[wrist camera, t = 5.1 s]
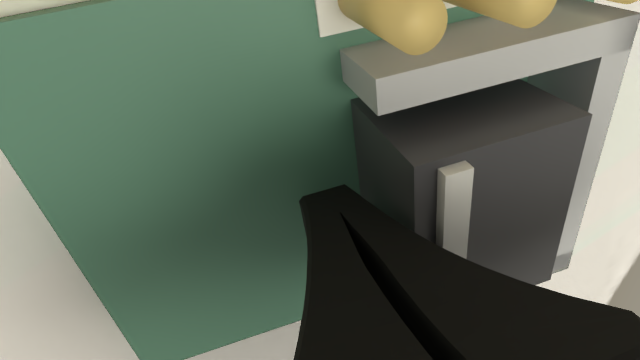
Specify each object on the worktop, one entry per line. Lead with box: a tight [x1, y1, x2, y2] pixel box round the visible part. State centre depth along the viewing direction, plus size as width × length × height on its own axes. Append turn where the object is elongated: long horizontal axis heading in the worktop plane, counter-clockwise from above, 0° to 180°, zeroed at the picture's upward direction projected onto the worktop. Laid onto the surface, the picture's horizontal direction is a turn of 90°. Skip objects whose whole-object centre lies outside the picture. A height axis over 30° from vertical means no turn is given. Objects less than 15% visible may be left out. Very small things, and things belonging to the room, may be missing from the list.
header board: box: [0, 0, 640, 360], centre depth 11 cm, size 11×15×4 cm
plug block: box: [350, 79, 593, 285], centre depth 11 cm, size 5×4×4 cm
